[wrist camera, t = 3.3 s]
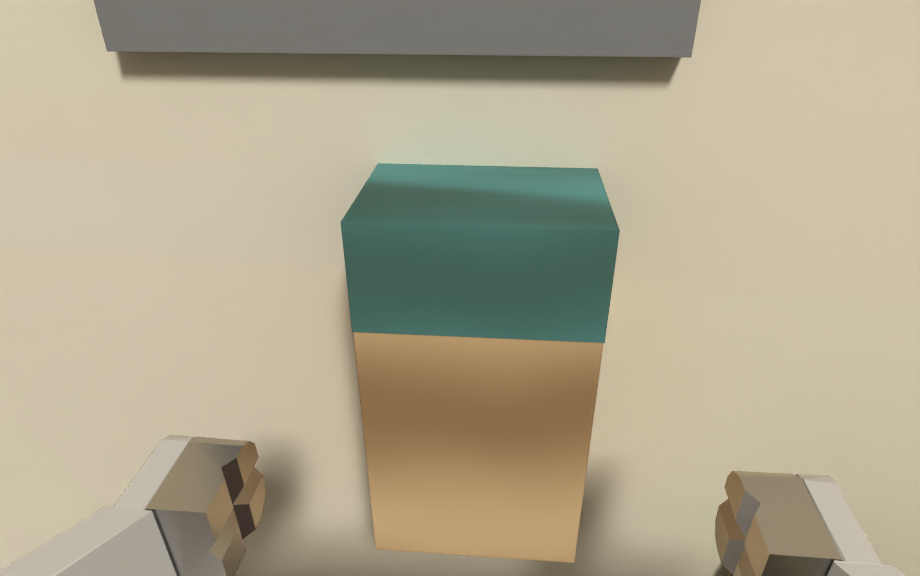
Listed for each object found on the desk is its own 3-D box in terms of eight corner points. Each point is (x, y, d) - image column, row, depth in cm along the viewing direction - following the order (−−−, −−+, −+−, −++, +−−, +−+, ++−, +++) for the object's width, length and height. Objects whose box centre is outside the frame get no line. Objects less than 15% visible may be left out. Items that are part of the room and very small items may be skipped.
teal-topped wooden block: (565, 460, 18) (574, 563, 15) (398, 450, 19) (375, 549, 16) (597, 167, 14) (619, 230, 11) (378, 162, 14) (340, 222, 11)
